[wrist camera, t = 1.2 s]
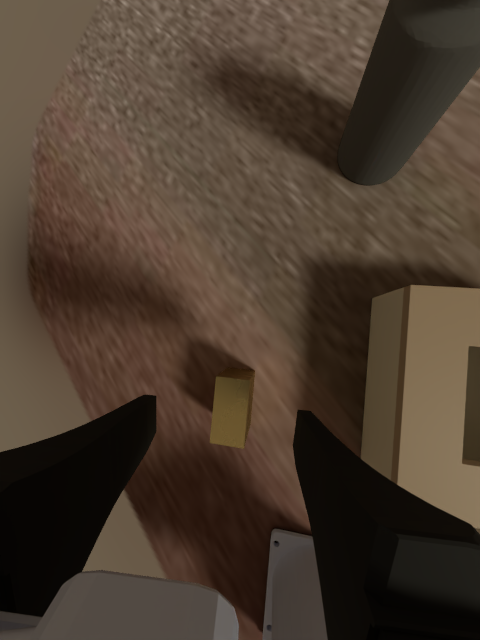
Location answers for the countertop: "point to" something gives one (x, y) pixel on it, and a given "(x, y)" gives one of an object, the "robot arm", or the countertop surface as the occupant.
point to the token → (232, 407)
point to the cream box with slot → (426, 395)
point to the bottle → (408, 83)
